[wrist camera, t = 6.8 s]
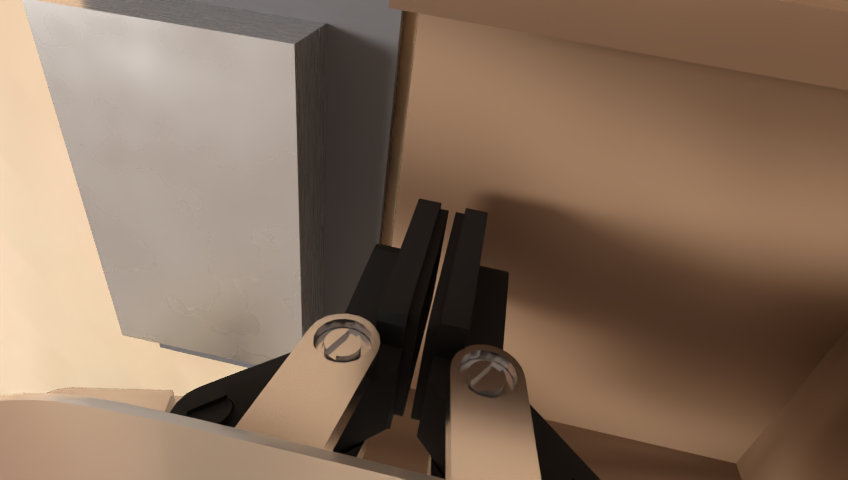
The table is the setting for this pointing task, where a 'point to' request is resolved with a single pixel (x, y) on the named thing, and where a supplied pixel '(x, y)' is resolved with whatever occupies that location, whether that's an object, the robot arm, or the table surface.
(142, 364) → the table surface
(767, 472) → the walnut box
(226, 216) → the concrete block
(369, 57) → the gray mat
